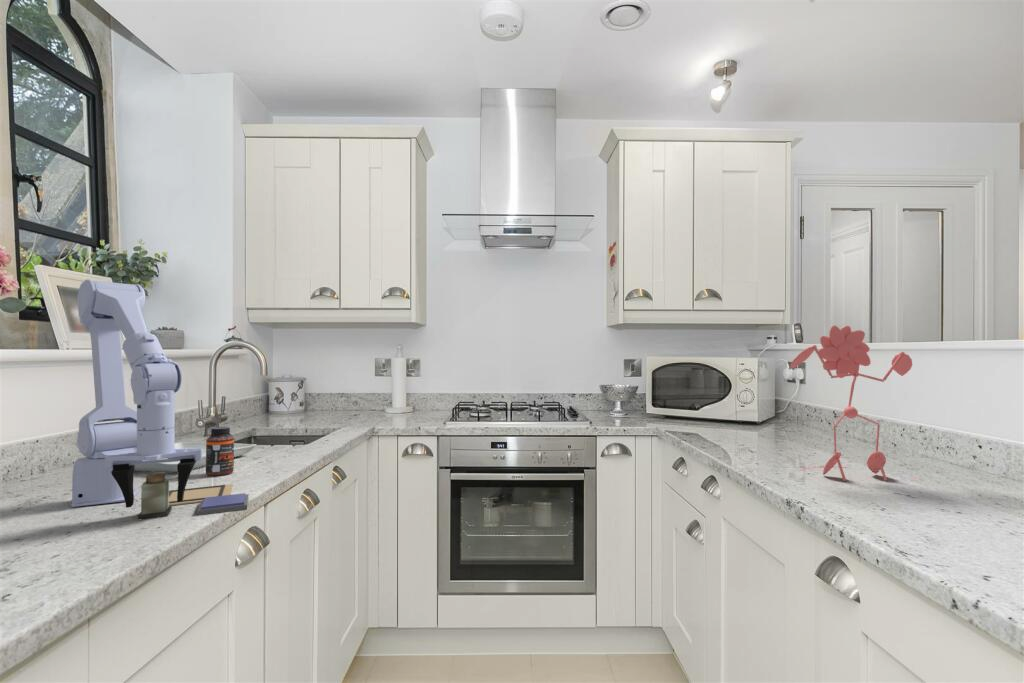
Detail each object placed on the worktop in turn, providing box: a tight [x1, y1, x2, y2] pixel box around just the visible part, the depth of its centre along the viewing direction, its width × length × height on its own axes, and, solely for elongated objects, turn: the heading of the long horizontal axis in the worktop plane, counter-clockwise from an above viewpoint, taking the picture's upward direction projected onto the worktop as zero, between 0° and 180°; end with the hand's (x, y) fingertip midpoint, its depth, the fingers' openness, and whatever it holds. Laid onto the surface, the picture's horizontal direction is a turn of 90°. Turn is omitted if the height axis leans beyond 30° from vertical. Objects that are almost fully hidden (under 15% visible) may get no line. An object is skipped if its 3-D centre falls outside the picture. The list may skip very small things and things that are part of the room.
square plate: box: [134, 441, 257, 473], centre depth 138 cm, size 27×27×4 cm
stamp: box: [137, 472, 173, 520], centre depth 93 cm, size 4×4×7 cm
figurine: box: [788, 325, 916, 482], centre depth 121 cm, size 15×26×35 cm, turn 90°
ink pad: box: [196, 492, 249, 516], centre depth 98 cm, size 8×8×1 cm
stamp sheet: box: [169, 483, 234, 507], centre depth 105 cm, size 13×12×1 cm
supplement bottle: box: [205, 426, 235, 477], centre depth 125 cm, size 6×6×11 cm
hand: (155, 503), depth 93 cm, fingers open, 7 cm apart
